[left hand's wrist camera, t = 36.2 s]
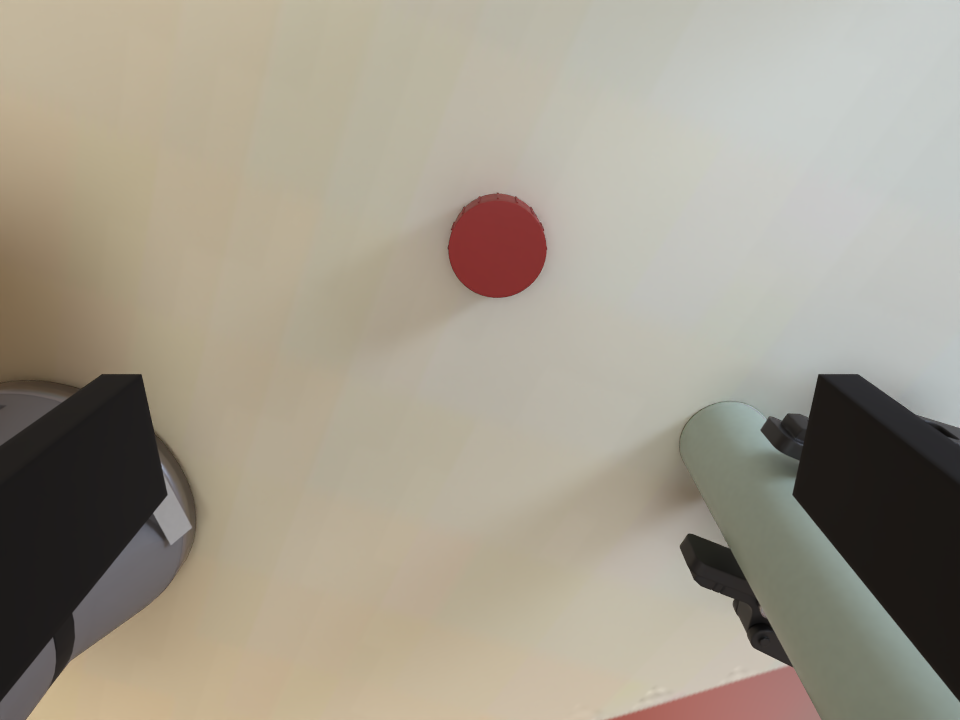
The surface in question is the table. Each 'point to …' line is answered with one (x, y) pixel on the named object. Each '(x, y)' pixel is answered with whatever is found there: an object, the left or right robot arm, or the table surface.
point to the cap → (497, 246)
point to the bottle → (806, 578)
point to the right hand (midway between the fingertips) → (728, 495)
